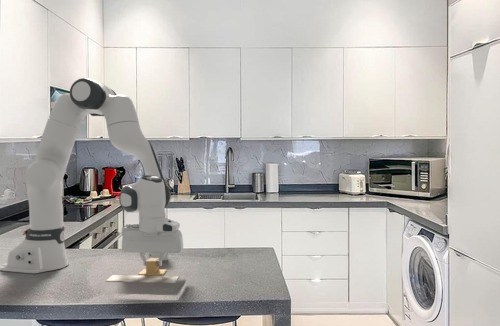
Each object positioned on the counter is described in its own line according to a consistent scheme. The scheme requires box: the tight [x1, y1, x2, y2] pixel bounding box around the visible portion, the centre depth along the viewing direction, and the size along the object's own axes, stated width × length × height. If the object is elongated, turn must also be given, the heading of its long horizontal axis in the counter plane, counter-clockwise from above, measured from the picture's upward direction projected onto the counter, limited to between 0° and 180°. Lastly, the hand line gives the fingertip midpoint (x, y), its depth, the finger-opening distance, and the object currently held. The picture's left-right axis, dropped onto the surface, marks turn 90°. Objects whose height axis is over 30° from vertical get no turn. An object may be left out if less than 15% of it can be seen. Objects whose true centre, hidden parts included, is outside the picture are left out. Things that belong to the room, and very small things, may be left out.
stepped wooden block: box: [137, 258, 167, 276], centre depth 155 cm, size 8×6×5 cm
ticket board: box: [105, 274, 180, 284], centre depth 152 cm, size 24×13×2 cm, turn 87°
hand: (152, 265), depth 155 cm, fingers closed on stepped wooden block, 3 cm apart
